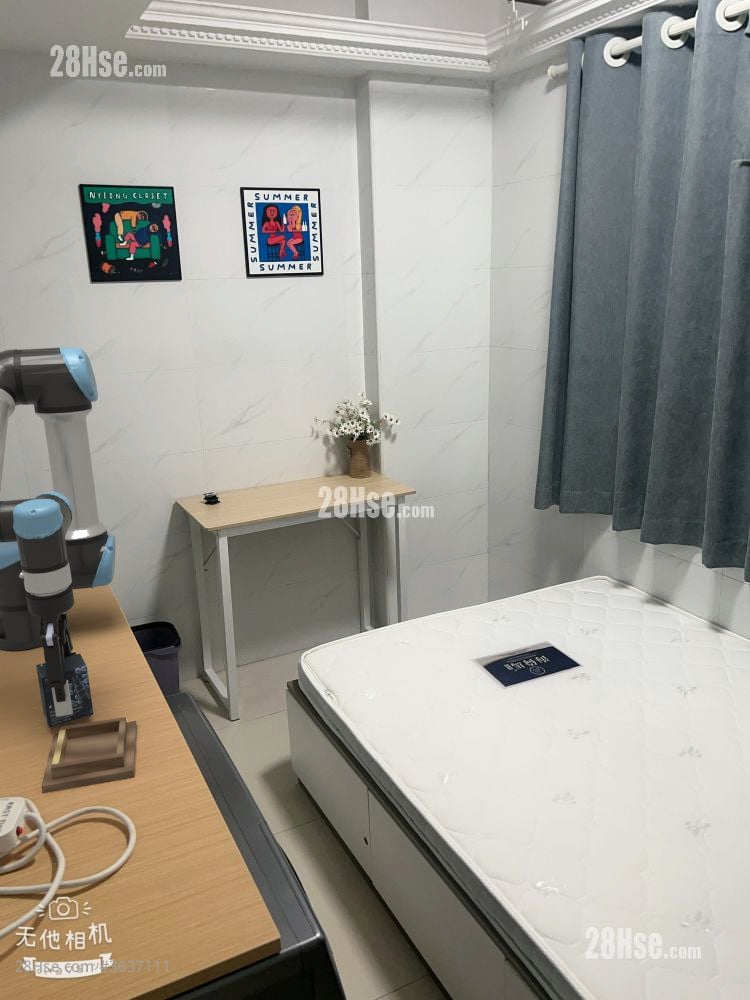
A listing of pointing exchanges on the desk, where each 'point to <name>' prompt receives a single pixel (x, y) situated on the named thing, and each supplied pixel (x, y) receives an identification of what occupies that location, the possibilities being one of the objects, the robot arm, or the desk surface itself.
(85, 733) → the socket
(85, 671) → the box
